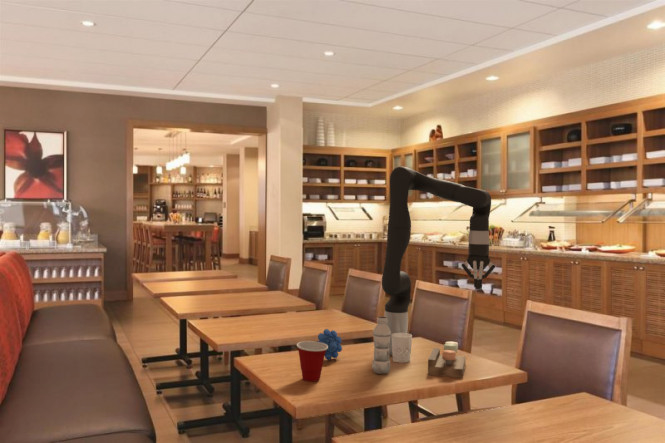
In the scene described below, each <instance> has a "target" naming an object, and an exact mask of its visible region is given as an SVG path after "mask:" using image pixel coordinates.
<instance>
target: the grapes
mask: <svg viewBox="0 0 665 443" xmlns="http://www.w3.org/2000/svg"><path fill="white" fill-rule="evenodd" d="M317 338H318V340H317V341H316V342H320V343H324V344H326V345H327V346H328V349H327V350H326V353H325V356H324V359H326V360H328V361H330V360H331V359H332V358H333V359H337V358H339V353H340V352H342V350H343V346H342V345H341V343H342V338H341V336H338V333H337V331H336V330H331V331H330V330H329V329H328V328H325V329H324V330H323V332H322V333H321V332H320V333H318V335H317Z"/></svg>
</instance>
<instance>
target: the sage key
mask: <svg viewBox="0 0 665 443" xmlns="http://www.w3.org/2000/svg"><path fill="white" fill-rule="evenodd" d="M444 350H452V351H455V352H456V354H457V353H458V352H457V351H458V350H457V345H455V344H443V351H444Z"/></svg>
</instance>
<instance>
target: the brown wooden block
mask: <svg viewBox="0 0 665 443" xmlns="http://www.w3.org/2000/svg"><path fill="white" fill-rule="evenodd" d="M440 352H441V348H440V347H439V348H438V347H433V348H432V350H431V352H430V354H429V356H428V359H427V375H429V376H438V377H439V376H441V377H451V378H458V379H459V378H461V379H462V378H463V377H464V373H465V368H466V356H461V355H460V356H459V355H456V359H455V360H452V364H451V365H447V364H446V360H444V359H442V354H441V353H440Z"/></svg>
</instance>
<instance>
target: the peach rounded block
mask: <svg viewBox="0 0 665 443" xmlns="http://www.w3.org/2000/svg"><path fill="white" fill-rule="evenodd" d="M441 355H442V359H444V360H446V364H447V365H451V364H452V360H455V359H456V356H457V353H456V352H455V351H452V350H444V349H443V350H442V353H441Z"/></svg>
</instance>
